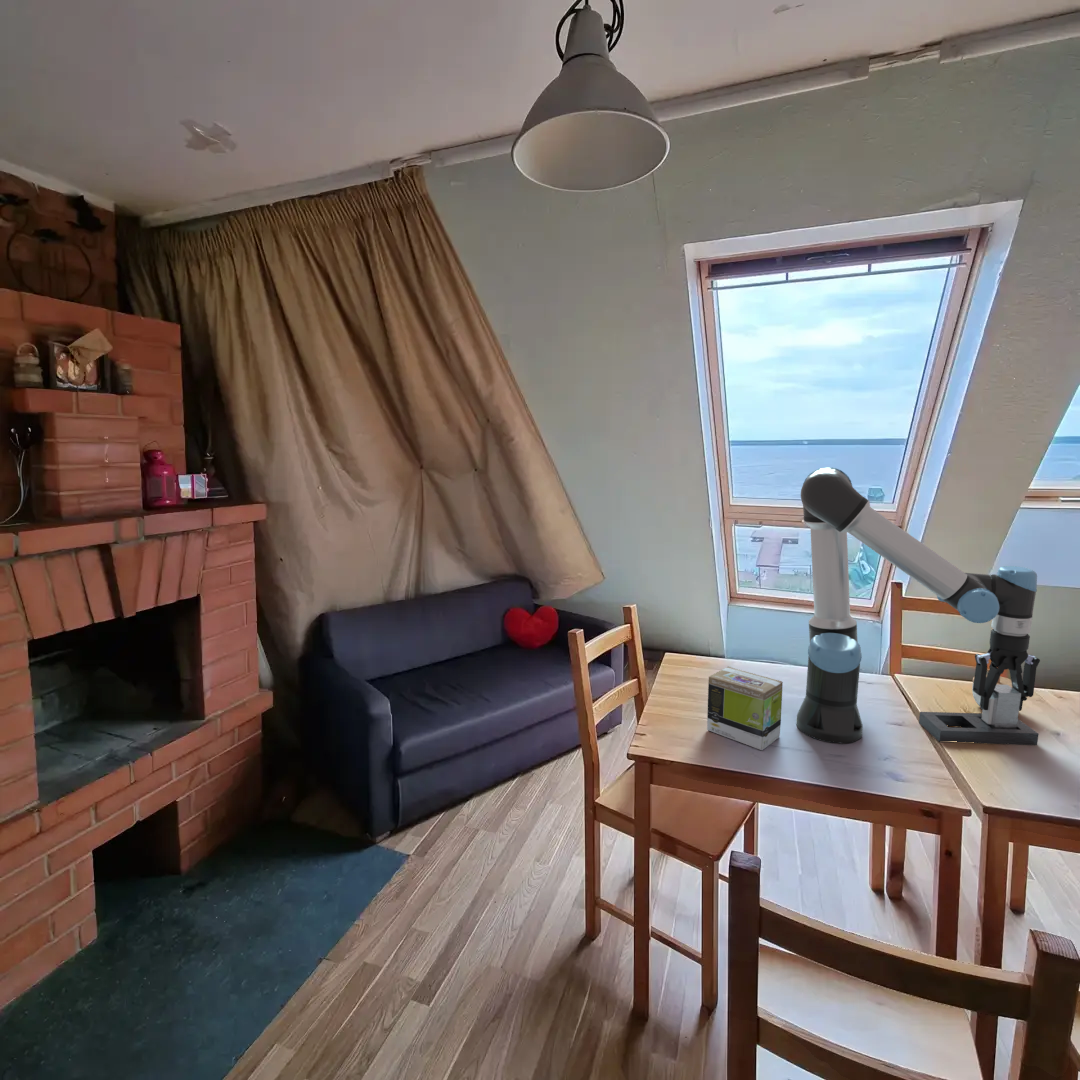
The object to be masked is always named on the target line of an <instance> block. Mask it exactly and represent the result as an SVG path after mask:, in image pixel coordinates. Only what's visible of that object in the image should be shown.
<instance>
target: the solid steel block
mask: <svg viewBox="0 0 1080 1080" xmlns="http://www.w3.org/2000/svg"><path fill="white" fill-rule="evenodd" d="M991 697H992V698H993V699H994V706H993V714H992V722H991V724H987V723H986V722H985V721H983V720H982V721H983V722H985V723H986V724H987V725H989V726H990V727H991V728H992V729H1016V728H1017V721H1018V719H1019V715H1020V714H1019V712H1020V711H1019V706H1020V699H1021V693H1020V692H1018V691H1017V690H1015V689H1014V688H1012V687H1010V686H1009V685H996V687H995V689H994V691H993V694H992V696H991Z"/></svg>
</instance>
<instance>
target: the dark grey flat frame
mask: <svg viewBox="0 0 1080 1080" xmlns="http://www.w3.org/2000/svg"><path fill="white" fill-rule="evenodd" d="M981 718H982V712H981V713H979V712H977V713H975V712H942V711H940V712H938V711H920V712H919V718H918V724H920V725H921V726H922V727H923V728H924V729H925V730H926V731H927V732H928V733H929V734H930V735H931V736H932V737H933V738H934V739H936V741H938V743H941V742H940V741H957V742H974V743H973V744H984V743H987V744H988V745H990V744H991V745H1017V746H1018V745H1019V746H1038V742H1039V741H1038V740H1039V735H1040V734H1039V733H1038V732H1037V731H1036V730H1034V729H1033V728H1032V727H1030V726H1029V725H1027V724H1026V723H1024V722H1023V721H1022V720H1020V719H1019V718H1018V721H1017V728H1016V729H992V728H991V727H990V726H989V725H987V724H986V723H985V722H983V721H982V719H981ZM947 725H948V726H961V727H962V728H961V727H948V726H947Z"/></svg>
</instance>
